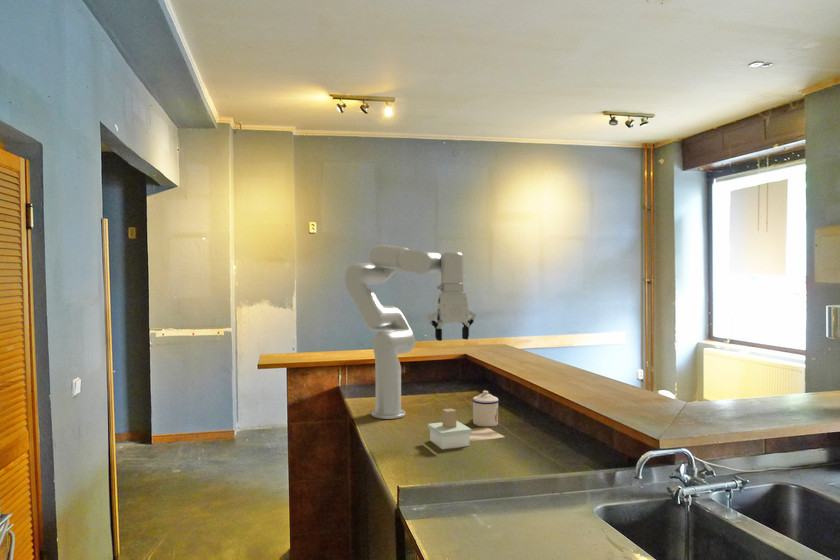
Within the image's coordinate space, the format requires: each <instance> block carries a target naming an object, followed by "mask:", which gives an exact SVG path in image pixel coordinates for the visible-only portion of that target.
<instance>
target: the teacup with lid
mask: <svg viewBox="0 0 840 560" xmlns="http://www.w3.org/2000/svg"><path fill="white" fill-rule="evenodd" d="M472 419H473V420H472V422H473V423H472V424H474V425H475V426H479V427H494V426H497V425H499V397H498V396H497V397H496V396H494V395H492V394H491V393H489V391H488V390H483V391H482V393H479V395H476V396H474V397H472Z"/></svg>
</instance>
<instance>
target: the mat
mask: <svg viewBox="0 0 840 560" xmlns="http://www.w3.org/2000/svg"><path fill="white" fill-rule="evenodd" d="M471 429H472V433H469V442H479V441H487V440H494V439H500V438H505V436H504V435H503V434H500V433H499V432H497V431H495V430H493V429H491V428H489V426H481V427H475V428H471Z"/></svg>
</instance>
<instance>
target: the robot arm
mask: <svg viewBox="0 0 840 560" xmlns="http://www.w3.org/2000/svg"><path fill="white" fill-rule="evenodd" d="M368 257H369V260H370V262H357V263H353V264H351V265H349V266H348V267H347V268H346V271H345V272H344V273H345V274H344V285H345V288H346V290H347V292H348V295H349V296H350V297H351V299H352V300H353V302H354V303H355V306H356V307H357V310H358V311H359V313H360V315H361V317H362V320H363V322H364V324H365V325H366V327H367V328H368V329H369V331H373V332H377V333H376V334H375V335H374V337H373V338H372V339H373V340H372V347H373V348H372V349H373V353H374V360H375V361H374V363H375V365H374V366H375V368H374V369H375V370H374V371H375V409H373V410H372V411H371V413H370V414H371V416H372V417H373V418H376V419H380V420H382V419H383V420H394V419H400V418H403V417H404V416H406V411H405V409H402V365H401V363H400V359H399V358H398V355H402V354H407V353H409V352H411V351H413V349H414V348H415V347H416V337H415V335H414V332H413V330H412V328H411V326H410V325H409V323H408V321H407V319H406V317H405V314H403V313H402V311H401V310H400V309H399V308H398V307H397V306H394V305H383V304H382V303H381V302H380V300H379V298H378V297H377V294H376V293H375V292H374V291H373V290H372V289H371V288H369V286H368V285H371V286H372V285H382V284H384V283H385V282H387V281H388V280H389V279H390V278H391V277H392V276H393V275H395V273H396V272H397V271H402V272H409V273H414V274H421V275H423V274H424V275H427V274H428V275H429V274H430V275H431V274H432V275H440V285H439V284H438V285H436V287H437V290H440V292H439V294H438V299H437V305H436V310H434V311H433V312H432V313H429V314H428V315H427V318H428V320H429V323H430V324H431V325H432V326H433V328H435V330H434V331H435V333H434V335H435V340H436V341H441V342H442V340H443V328H442V326H443V324H455V323H456V324H459V323H461V324H462V328H461V333H462V334H461V337H462V338H461V339H463V340H465V341H467V340H469V336H470V328H471V326H472V325H473V323H474V321H475V319H476V316H477V315H476V313H474V312H472V311H470V310H469V303H468V297H467V293H466V292H464V255H463V253H462V252H460V251H446V252H445V251H444V252H439V251H436V252H435V251H423V250H422V251H421V250H412V249H409V248H408V247H405V246H399V245H398V246H397V245H389V244H377V245H375V246H374V247H372V248H371V250H370V251H369V255H368ZM435 317H436V320H437V321H436V320H435V319H434V318H435Z"/></svg>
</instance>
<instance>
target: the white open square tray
mask: <svg viewBox="0 0 840 560" xmlns="http://www.w3.org/2000/svg"><path fill="white" fill-rule="evenodd" d="M429 439H430V440H429V441H430V442H431V443H432V444H434V446H436V447H438V448H439V449H440V450H448V449H451V450H452V449H457V448H458V449H459V448H465V447H470V440H469V434H461V435H452V436H444V437H440V436H439V435H438V434H436V433H435V432H433V431H432V430H430V429H429Z"/></svg>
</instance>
